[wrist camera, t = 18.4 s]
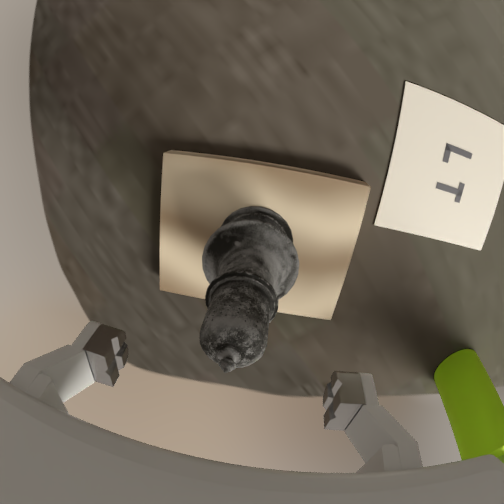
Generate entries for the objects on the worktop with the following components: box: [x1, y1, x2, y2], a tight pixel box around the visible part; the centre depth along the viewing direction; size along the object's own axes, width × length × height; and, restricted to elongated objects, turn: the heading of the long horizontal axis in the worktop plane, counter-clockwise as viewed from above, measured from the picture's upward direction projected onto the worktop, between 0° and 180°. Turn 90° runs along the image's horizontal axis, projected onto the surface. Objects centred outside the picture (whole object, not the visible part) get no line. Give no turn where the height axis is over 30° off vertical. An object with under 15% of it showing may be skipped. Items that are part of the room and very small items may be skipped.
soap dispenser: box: [434, 349, 504, 463], centre depth 19 cm, size 6×7×20 cm
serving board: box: [160, 150, 371, 320], centre depth 22 cm, size 11×14×2 cm
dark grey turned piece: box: [200, 206, 299, 373], centre depth 16 cm, size 6×6×12 cm
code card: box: [374, 81, 504, 251], centre depth 19 cm, size 11×11×1 cm
